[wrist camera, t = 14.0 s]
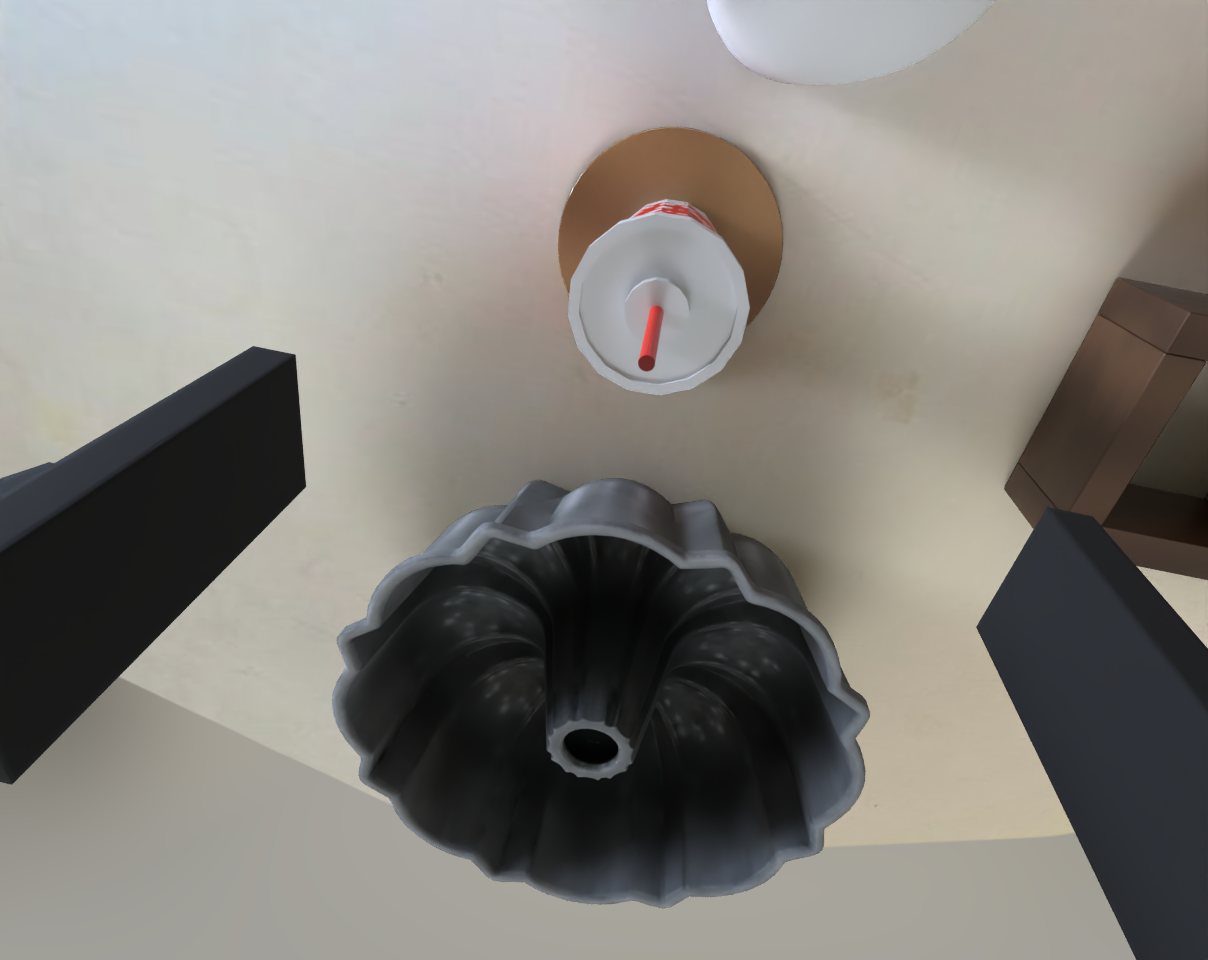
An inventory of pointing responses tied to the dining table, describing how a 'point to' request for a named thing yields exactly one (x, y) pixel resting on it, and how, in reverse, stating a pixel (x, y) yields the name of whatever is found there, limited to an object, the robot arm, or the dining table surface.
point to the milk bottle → (838, 35)
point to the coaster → (679, 199)
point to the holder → (1123, 428)
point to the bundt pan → (603, 699)
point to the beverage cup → (659, 300)
